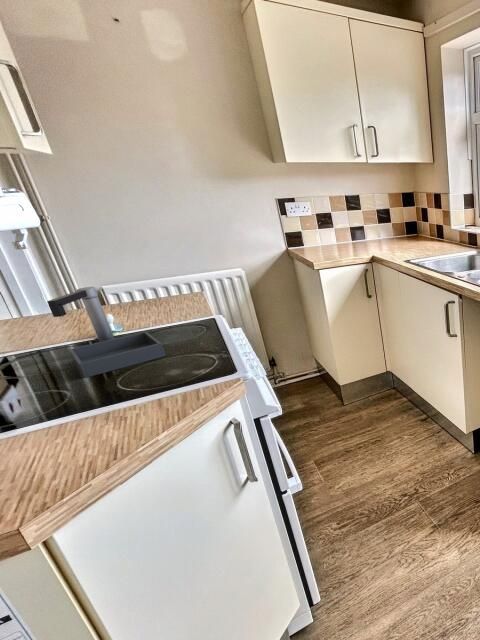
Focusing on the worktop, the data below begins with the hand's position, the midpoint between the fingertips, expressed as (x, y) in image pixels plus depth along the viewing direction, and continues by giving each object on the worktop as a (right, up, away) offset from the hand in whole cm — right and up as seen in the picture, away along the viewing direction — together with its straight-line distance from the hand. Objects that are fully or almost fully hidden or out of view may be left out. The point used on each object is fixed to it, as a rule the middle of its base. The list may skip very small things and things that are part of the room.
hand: (0, 252), depth 97 cm
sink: (+20, -25, +8) cm, 33 cm away
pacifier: (+2, -19, +25) cm, 31 cm away
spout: (+11, -12, +6) cm, 18 cm away
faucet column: (+11, -22, +15) cm, 29 cm away
